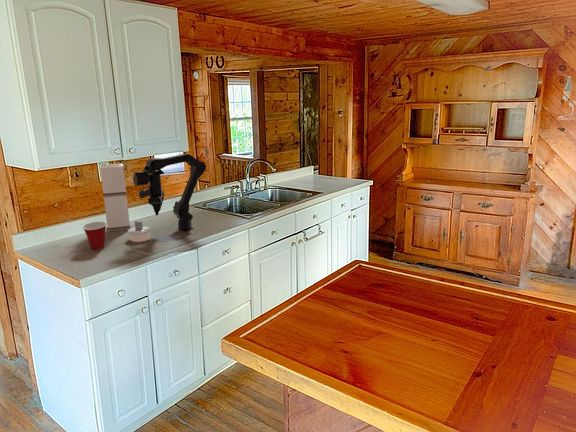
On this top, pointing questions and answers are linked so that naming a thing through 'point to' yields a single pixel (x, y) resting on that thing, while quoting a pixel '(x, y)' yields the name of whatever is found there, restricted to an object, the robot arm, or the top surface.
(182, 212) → the robot arm
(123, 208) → the mini fridge
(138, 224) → the lid
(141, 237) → the bowl
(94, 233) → the plastic cup
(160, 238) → the mat
